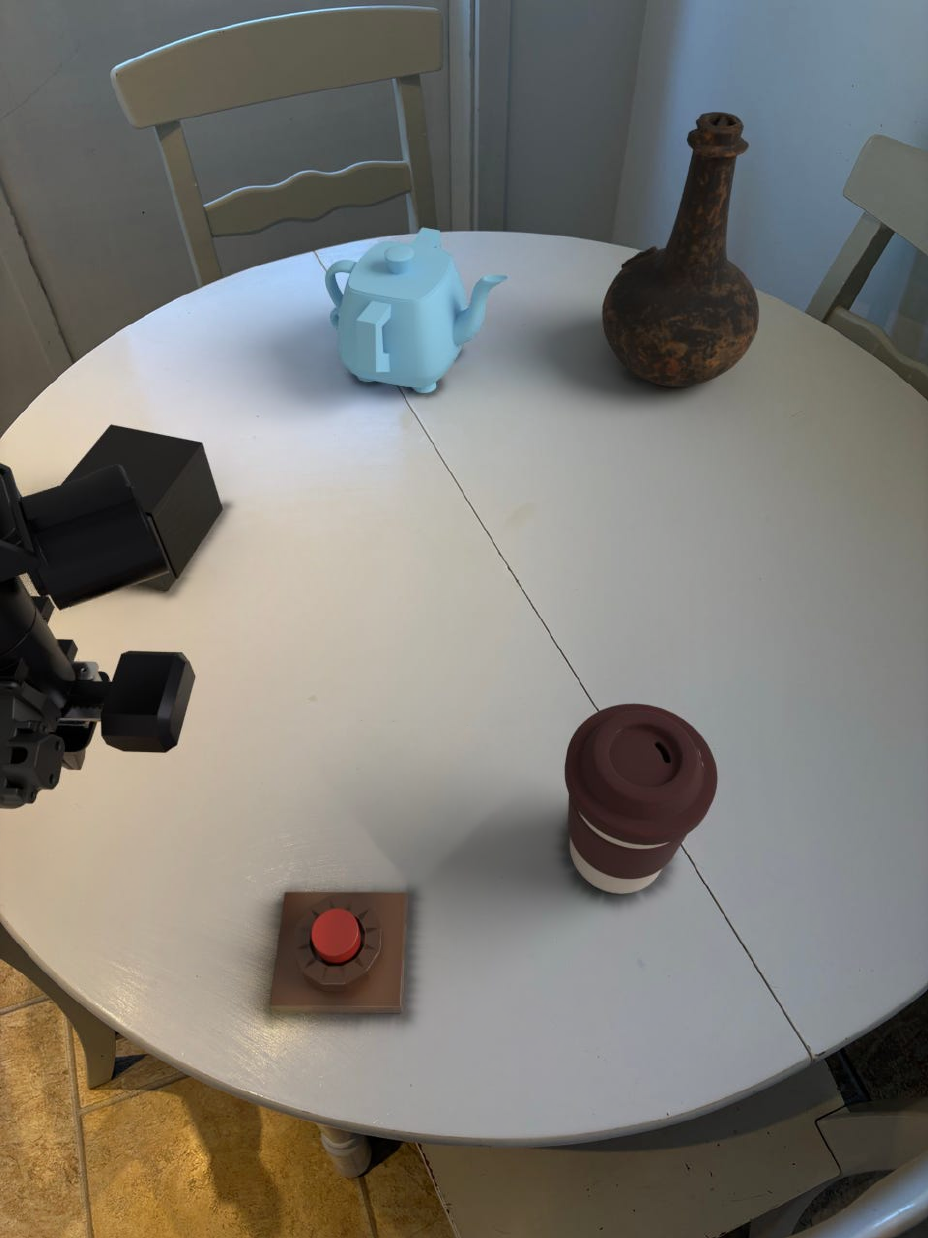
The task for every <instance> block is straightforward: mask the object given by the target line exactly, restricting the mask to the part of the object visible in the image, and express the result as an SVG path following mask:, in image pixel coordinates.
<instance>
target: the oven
mask: <svg viewBox="0 0 928 1238" xmlns="http://www.w3.org/2000/svg"><path fill="white" fill-rule="evenodd" d="M116 464H119V465H122V466H123V468H124V471H125V473H126V475H127V478H128V480H129V482H130V485H131V487H134V488H135V490H136V493H137V495H138V497H139V500H140V502H141V504H142V507H143V509H144V511H145V514H146V516H150V517H151V519H152V522H153V524H154V527H155V529H156V532H157V534H158V537H159V539H160V542H161V544H162V546H163V549H164V551H165V554H166V556H167V559H168V561H169V564H170V566H171V569H172V571H173V574H174V576H175V579H176V580H177V579H179V578H180V577H181V574H182V573H183V572H184V570H185V568H186V567H187V565H188V564H189V562H190V561H191V559H192V558H193V556H194V555H195V553H196V552H197V550H198V549H199V547H200V546H201V544H202V542H203V541H204V539H206V536H207V535H208V533H209V532H210V530H211V528H212V527H213V525H214V524H215V522H216V521H217V519H218V518H219V516H220V515H221V514H222V513H223V512H222V511H223V510H224V507H223V504H222V502H221V499H220V498H221V497H220V495H219V491H218V489H217V486H216V482H215V479H214V476H213V473H212V469H211V466H210V463H209V460H208V457H207V454H206V450H205V447H204V443H203V442H201V441H198V440H197V441H196V440H192V439H187V438H181V437H177V436H172V435H166V434H162V433H156V432H151V431H146V430H141V429H137V428H132V427H126V426H121V425H117V424H112V423H111V424H110V425H109V426H108V427H107V428H106V430H105V431H104V432H103V433H102V434H101V435H100V437H99V438H98V439H97V440H96V441H95V442H94V444H93V445H92V446H91V447H90V449H89V450H88V451H87V452H86V453H85V454H84V456H83V457H82V458H81V459H80V460H79V462H78V463H77V464H76V466H75V467H74V468H73V469H71V472H69V474H68V475H67V476H66V477H65V479H63V481H62V482H61V483H60V485H63V484H66V483H69V482H72V481H75V480H78V479H81V478H84V477H86V476H88V475H89V474H91V473H93V472H95V471H97V470H100V469H103V468H106V467H110V466H113V465H116Z"/></svg>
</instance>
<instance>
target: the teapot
mask: <svg viewBox="0 0 928 1238" xmlns="http://www.w3.org/2000/svg"><path fill="white" fill-rule="evenodd" d="M441 240H442V239H441V231H440V230H438V229H433V228H427V227H421V228H420V229H419V231H418V233H417V234H416V236H415V237H414V238H413V240H412V241H411V242H404V241H395V240H383V241H379V242H377V243H375V244H374V245H373V246H371V247H370V248H369V249H368V250H367V251H366V252H364V254H363V255H362V256H361V257H360V258H359V259H358V260H357V262H356V261H354V260H350V259H341V260H338V261H336V262H334V263H333V264H331V265H330V266H329V267H328V268H327V270H326V272H325V276H324V283H325V284H324V285H325V289H326V291H327V293H328V295H329V297H330V299H331V301H332V302H333V304H334V306H335V307H334V308H333V309H332V310H331V311H330V314H329V322H330V324H331V325H332V326H333V328H335V329H336V330H337V348H338V349H337V350H338V355H339V358H340V360H341V362H342V363H343V365H344V366H345V368H346V369H347V370H348V371H349V372H350V373H351V374H352V375H354V376H356V378H357V379H358V380H359V381H361V382H364V383H372V382H377V383H383V384H389V385H394V386H399V387H407V388H412V390H413V391H414V392H416V393H418V394H419V393H420V394H429V393H432V392H433V391H434V390H436V389H437V383H436V382H438V381H439V380H440V379H441V378H442V377H443V376H444V375H445V374H446V373H447V372H448V370H449V369H450V368H452V365H454V363H455V361H456V359H457V358H458V356H459V355H460V353H461V351H462V348H463V346H464V344H466V343H468V342H470V341H471V340H472V339H474V338H475V337H476V335H477V334H478V333H479V331H480V330H481V328H482V326H483V323H484V320H485V315H486V310H487V309H486V308H487V302H488V297H489V294H490V293H491V291H492V290H493V288H495V287H496V286H498V285H499V284H502V283H503V282H505V281H507V280H508V278H509V277H508V276H507V275H505V274H489V275H485V276H483V277H481V278H479V280H477V282H475V285H474V286H473V289H472V292H471V296H470V301H469V305H468V300H467V295H466V291H465V288H464V283H463V281H462V278H461V274H460V272H459V270H458V267H457V264H456V262H455V260H454V258H453V255H452V254H451V253H450V252H449V251H448V250H446V249H443V248H442V241H441ZM338 273H344V274H345V273H346V274H349V275H348V278H347V280H346V284H345V287H344V291H343V292H342V290H341V289H340V287H339V284H338V281H337V278H336V274H338Z"/></svg>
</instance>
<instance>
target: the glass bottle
mask: <svg viewBox="0 0 928 1238" xmlns="http://www.w3.org/2000/svg"><path fill="white" fill-rule="evenodd" d="M695 125H696V128H694V129H691V130H690V131H689V132H688V134H687V138H686V142H687V145H688V147H690V149H691V150H692V153H691V158H690V161H689V166H688V170H687V175H686V180H685V183H684V187H683V191H682V194H681V199H680V203H679V206H678V209H677V213H676V217H675V220H674V223H673V226H672V230H671V232H670V236H669V238H668V241H667V242H666V245H665V247H663V248H659V249H658V247H657V246H656V245H653V246H651V247H649V248H647V249H645V250H644V251H642V250H641V251H639V252H637V253H636V254H635V255H634V256H633V257H631V258H629V259H626V261H624V263H621V266H620V268H621V269H620V270H619V272H618V273H617V274H616V275H615V276H614V278H613V279H612V281H611V282H610V285H609V287H608V288H607V291H606V292H605V293H606V294H605V295H604V299H603V303H602V310H601V317H602V318H601V320H602V327H603V331H604V335H605V338H606V341H607V343H608V345H609V347H610V349H611V351H612V352H613V354H614V355H615V357H616V358H617V359H618V361H619V362H620V363H621V364H622V365H623V366H624V367H625V368H626V369H627V370H628V371H630V372H631V373H632V374H633V375H635V376H636V377H638V378H640V379H642V380H644V381H646V382H649V383H652V384H655V385H658V386H659V385H660V386H663V387H674V388H677V387H678V388H679V387H680V388H681V387H690V386H691V387H692V386H696V385H700V384H704V383H706V382H709V381H712V380H715V379H717V378H718V377H720V376H722V375H724V374H725V373H726V372H727V371H729V370H730V369H732V368H733V367H734V366H735V365H736V364H738V362H739V361H740V360H741V359H742V358H743V357H744V356H745V355H746V354H747V352H748V351H749V349H750V347H751V346H752V343H753V342H754V339H755V337H756V334H757V331H758V329H759V328H758V326H759V321H760V320H759V319H760V306H759V300H758V296H757V293H756V290H755V287H754V286H753V284H752V282H751V281H750V279H749V277H747V276H746V274H745V273H744V272H743V271H742V270H741V269H740V268H739V267H738V266H737V265H736V264H734V263H733V262H732V261H730V260H728V255H727V254H728V253H727V234H728V222H729V211H730V201H731V195H732V188H733V182H734V175H735V170H736V164H737V158H738V156H739V155H742V154H745V153H746V152H747V151H748V149H749V147H750V144H749V142H748V141H747V140H745V139H744V138H743V137H742V134H743V131H744V128H745V125H744V123H743V121H742V120H741V119H740V118H739V116H737V115H735V114H732V113H728V112H722V111H710V112H706V113H701V114H700V116H699V117H698V118H697V119H695Z"/></svg>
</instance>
